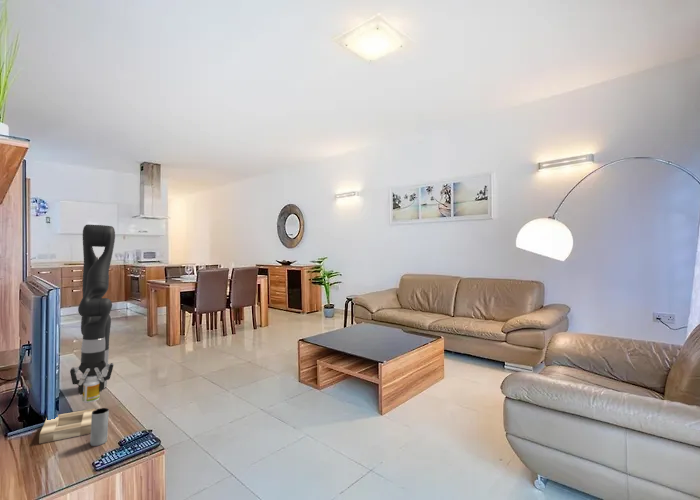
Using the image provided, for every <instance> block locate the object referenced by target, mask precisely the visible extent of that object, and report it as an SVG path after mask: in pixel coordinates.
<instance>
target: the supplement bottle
mask: <svg viewBox="0 0 700 500" xmlns="http://www.w3.org/2000/svg"><path fill="white" fill-rule="evenodd" d="M100 395H101V392H100V380H99V379H98V376H97V375H95V376H94V375H91V376H86V381H85V382H84V383H83V394H82V399H81V400H82V403H94V402H97V401H98V400H100Z"/></svg>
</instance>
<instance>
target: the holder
mask: <svg viewBox="0 0 700 500" xmlns="http://www.w3.org/2000/svg"><path fill="white" fill-rule="evenodd" d="M96 409H97V408H90V409H85V410H78V411H73V412H68V413H67V412H66V413H60V414H57V415H58V417H56V418H55V419H51V420H47V418H45V421H44V423H43V426H42V427H41V430H40V432H39V437H38V438H39V440H38V443H39V444H44V443H49V442H54V441H59V440H65V439H68V438H74V437H80V436H84V435H89V434H90V435H91V419H92V412H93V411H94V410H96Z"/></svg>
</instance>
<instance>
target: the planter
mask: <svg viewBox="0 0 700 500" xmlns="http://www.w3.org/2000/svg"><path fill="white" fill-rule="evenodd" d="M109 411H110V410H109V408H106V407H101V408H96V410H94V411H93V412H92V419H91V433H90V442H89V445H91V446H92V447H98V446H102V445H104V444H105V443H107V442H108V431H109V429H108V428H109Z"/></svg>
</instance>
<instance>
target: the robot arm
mask: <svg viewBox="0 0 700 500" xmlns="http://www.w3.org/2000/svg"><path fill="white" fill-rule="evenodd" d="M115 238H116V231H115V227H113V226H112V225H102V224H85V225H84V226H83V229H82V251H83V266H82V267H83V269H82V270H83V271H82V298H81V300H80V302H79V304H78V308H77V310H78V311H77V313H78V315H80V317H81V321H80V332H81V334H82V341H81V348H80V365H79V366H77V367H74V366H73V367H71V368H70V370H69V372H70V373H69V374H70V378H71V384H72V385H77V386H78V389H77V390H78V391H77V392H78V394H80V395H82V396H83V383H84V382H85V381H86V376H91V375H94V376H95V375H97V376H98V379H99V380H100V393H102V391H103V390H105V389H106V388H107V386H108V381H109V380H111V376H112V372H113V369H114V362H110V363H109V356H110V355H109V353H110V335H111V327H112V318H111V315H110V314H111V311H112V307H113V303H112V301H111V299H109V297H108V298H107V297H104V295H106V293H107V292H108V290H109V284H110V283H109V281H110V280H109V279H110V275H109V272H110V266H111V262H112V258H113V252H114V247H115V241H116V239H115ZM93 247H98V248H99V247H100V248H104V249H103V252H102V254H101V255H100V256H99V257H98V258H97V255H96V254H95V252H94V251H95V250H94V248H93ZM79 371H80V372H81V373H82V375H81V377H80V379H77V373H78V372H79ZM104 386H105V387H106V388H105V387H104Z"/></svg>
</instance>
